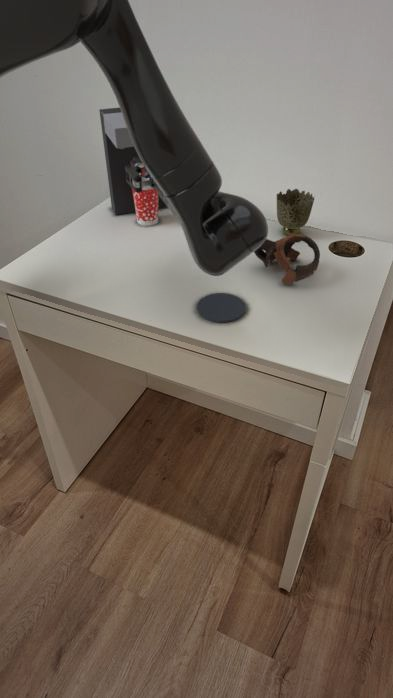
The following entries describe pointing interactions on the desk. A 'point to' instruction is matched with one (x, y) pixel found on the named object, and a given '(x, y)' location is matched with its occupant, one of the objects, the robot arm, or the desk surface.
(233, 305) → the coaster
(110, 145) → the coffee machine
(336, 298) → the desk surface
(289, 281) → the leather belt
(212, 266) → the robot arm
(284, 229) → the cup
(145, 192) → the beverage cup
